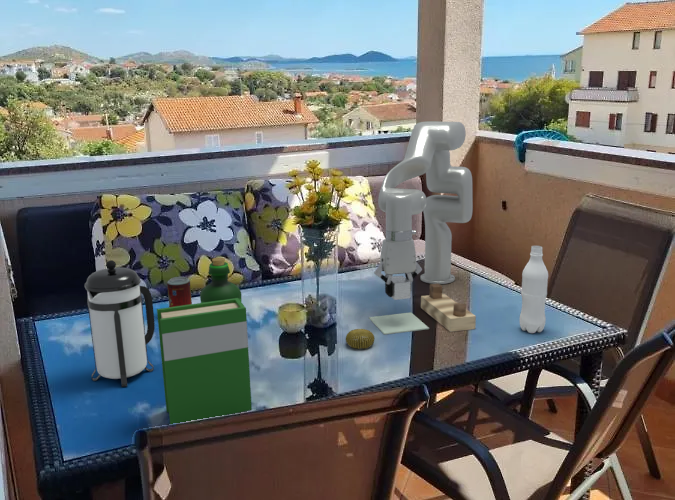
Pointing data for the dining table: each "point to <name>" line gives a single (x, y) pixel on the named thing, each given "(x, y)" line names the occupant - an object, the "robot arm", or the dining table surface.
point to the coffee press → (119, 322)
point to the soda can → (179, 291)
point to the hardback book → (205, 359)
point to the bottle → (219, 283)
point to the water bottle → (534, 292)
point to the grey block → (400, 288)
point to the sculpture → (360, 338)
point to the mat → (398, 323)
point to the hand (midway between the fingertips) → (398, 294)
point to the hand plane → (447, 310)
